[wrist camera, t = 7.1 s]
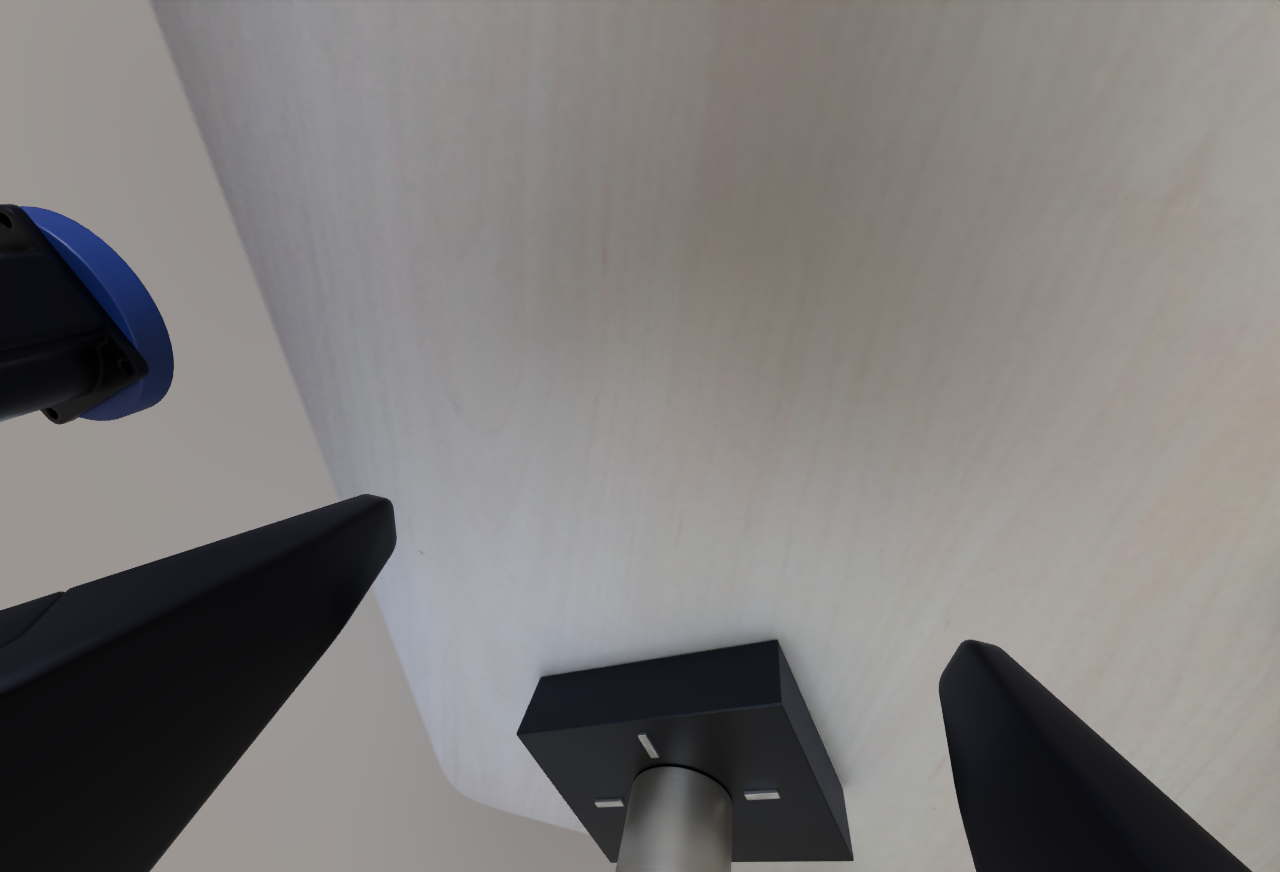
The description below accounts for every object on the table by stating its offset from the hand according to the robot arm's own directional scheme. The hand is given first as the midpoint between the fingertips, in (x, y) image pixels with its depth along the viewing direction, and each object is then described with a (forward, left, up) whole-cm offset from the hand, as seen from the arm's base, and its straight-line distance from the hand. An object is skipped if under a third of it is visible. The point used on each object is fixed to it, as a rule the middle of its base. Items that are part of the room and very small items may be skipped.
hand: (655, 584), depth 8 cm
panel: (-7, -17, -10) cm, 21 cm away
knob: (-7, -17, -7) cm, 20 cm away
